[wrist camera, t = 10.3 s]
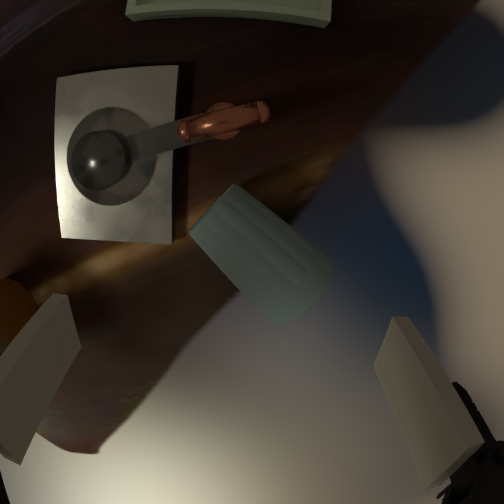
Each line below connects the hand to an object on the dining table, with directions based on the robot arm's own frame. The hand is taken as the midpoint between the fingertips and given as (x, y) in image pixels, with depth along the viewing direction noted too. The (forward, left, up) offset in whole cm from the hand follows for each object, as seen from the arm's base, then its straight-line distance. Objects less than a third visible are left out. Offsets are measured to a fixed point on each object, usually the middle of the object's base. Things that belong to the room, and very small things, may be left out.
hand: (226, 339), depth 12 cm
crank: (-12, +5, -17) cm, 21 cm away
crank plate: (-12, +5, -18) cm, 22 cm away
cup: (0, 0, -19) cm, 19 cm away
